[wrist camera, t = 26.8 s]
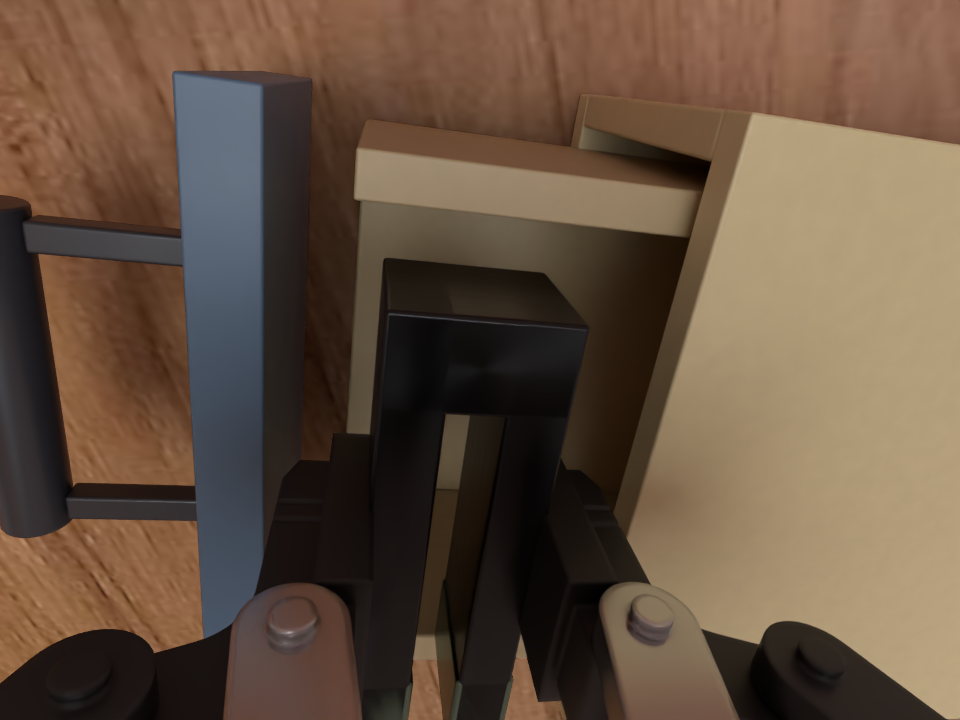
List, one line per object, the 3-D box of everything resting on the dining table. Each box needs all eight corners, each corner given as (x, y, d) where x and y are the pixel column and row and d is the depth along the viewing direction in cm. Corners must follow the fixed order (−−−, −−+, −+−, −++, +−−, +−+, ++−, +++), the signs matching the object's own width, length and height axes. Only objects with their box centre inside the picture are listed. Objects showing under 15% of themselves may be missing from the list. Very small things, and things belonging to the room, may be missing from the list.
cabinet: (501, 504, 22) (566, 739, 14) (580, 92, 17) (752, 111, 9) (899, 514, 25) (1128, 711, 17) (1074, 170, 20) (1522, 233, 12)
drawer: (97, 497, 19) (-42, 706, 12) (36, 37, 14) (-246, 9, 7) (709, 511, 22) (832, 677, 16) (836, 156, 17) (1082, 202, 11)
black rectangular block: (480, 633, 13) (500, 743, 11) (351, 636, 13) (345, 752, 10) (548, 272, 10) (596, 326, 8) (380, 255, 9) (381, 310, 7)
